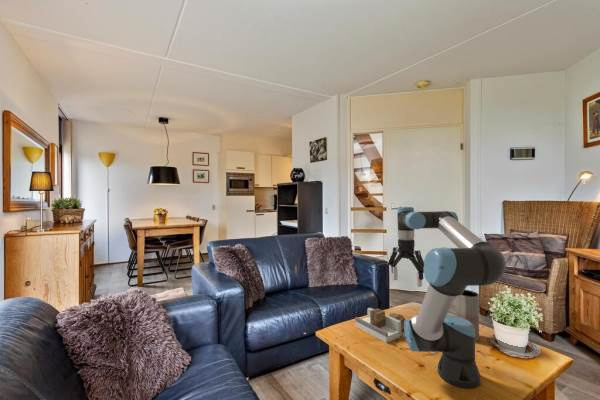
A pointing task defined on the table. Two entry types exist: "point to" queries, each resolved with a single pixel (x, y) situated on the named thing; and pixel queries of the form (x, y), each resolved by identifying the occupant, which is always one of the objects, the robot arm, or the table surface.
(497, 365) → the table surface
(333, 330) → the table surface
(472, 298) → the planter
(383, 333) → the board
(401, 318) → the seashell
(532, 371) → the table surface
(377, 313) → the brown block
